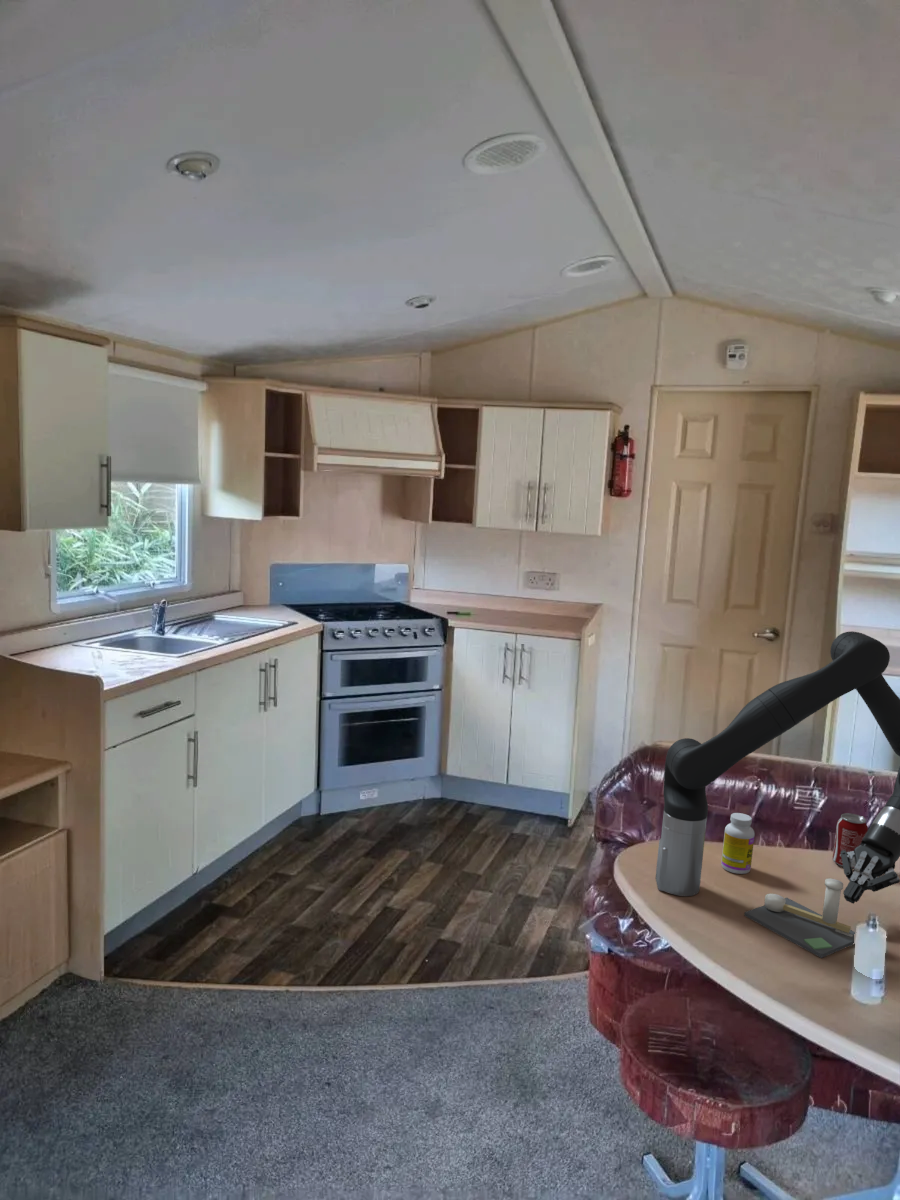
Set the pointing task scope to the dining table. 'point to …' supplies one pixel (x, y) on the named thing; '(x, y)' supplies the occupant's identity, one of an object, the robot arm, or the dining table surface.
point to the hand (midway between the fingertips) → (848, 900)
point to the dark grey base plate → (802, 929)
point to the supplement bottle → (738, 844)
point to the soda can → (848, 835)
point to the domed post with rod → (827, 918)
